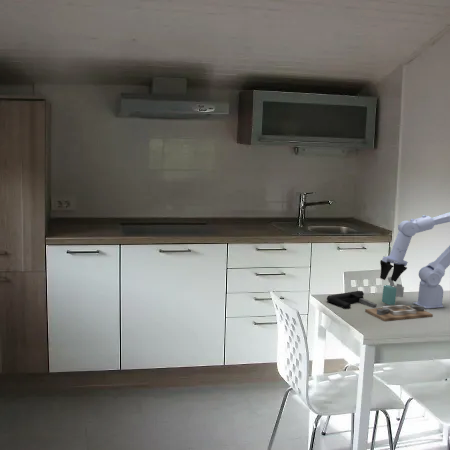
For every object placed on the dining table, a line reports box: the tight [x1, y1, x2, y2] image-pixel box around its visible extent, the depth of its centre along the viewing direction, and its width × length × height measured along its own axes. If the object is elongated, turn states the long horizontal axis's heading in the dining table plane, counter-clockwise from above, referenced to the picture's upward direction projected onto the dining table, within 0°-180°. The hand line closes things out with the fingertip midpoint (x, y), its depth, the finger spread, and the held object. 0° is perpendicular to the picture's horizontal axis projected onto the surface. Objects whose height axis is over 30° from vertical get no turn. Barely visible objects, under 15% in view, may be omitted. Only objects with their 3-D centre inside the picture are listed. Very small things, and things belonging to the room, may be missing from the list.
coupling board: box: [364, 304, 434, 322], centre depth 233 cm, size 23×12×3 cm, turn 113°
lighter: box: [387, 276, 405, 298], centre depth 261 cm, size 7×2×8 cm, turn 60°
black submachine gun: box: [326, 290, 378, 310], centre depth 245 cm, size 3×20×16 cm
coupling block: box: [381, 284, 397, 306], centre depth 248 cm, size 3×5×7 cm, turn 23°
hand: (387, 279), depth 246 cm, fingers open, 7 cm apart
